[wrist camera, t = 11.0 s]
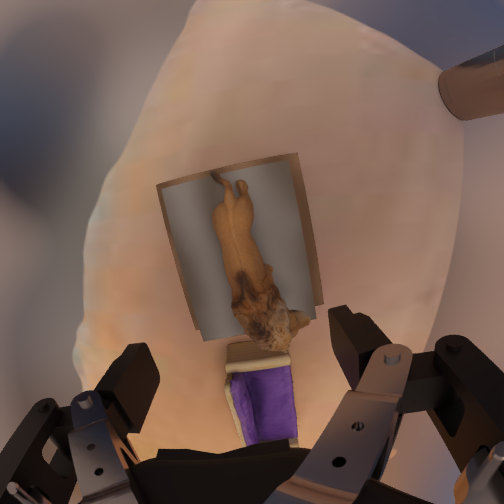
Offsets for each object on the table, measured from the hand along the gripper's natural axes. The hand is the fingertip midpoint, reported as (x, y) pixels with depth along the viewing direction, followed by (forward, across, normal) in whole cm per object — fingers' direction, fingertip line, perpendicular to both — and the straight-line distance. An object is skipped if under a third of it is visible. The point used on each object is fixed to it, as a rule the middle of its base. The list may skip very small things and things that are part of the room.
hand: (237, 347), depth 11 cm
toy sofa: (+26, +2, +25) cm, 36 cm away
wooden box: (+26, 0, 0) cm, 26 cm away
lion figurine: (+16, -1, -1) cm, 16 cm away
